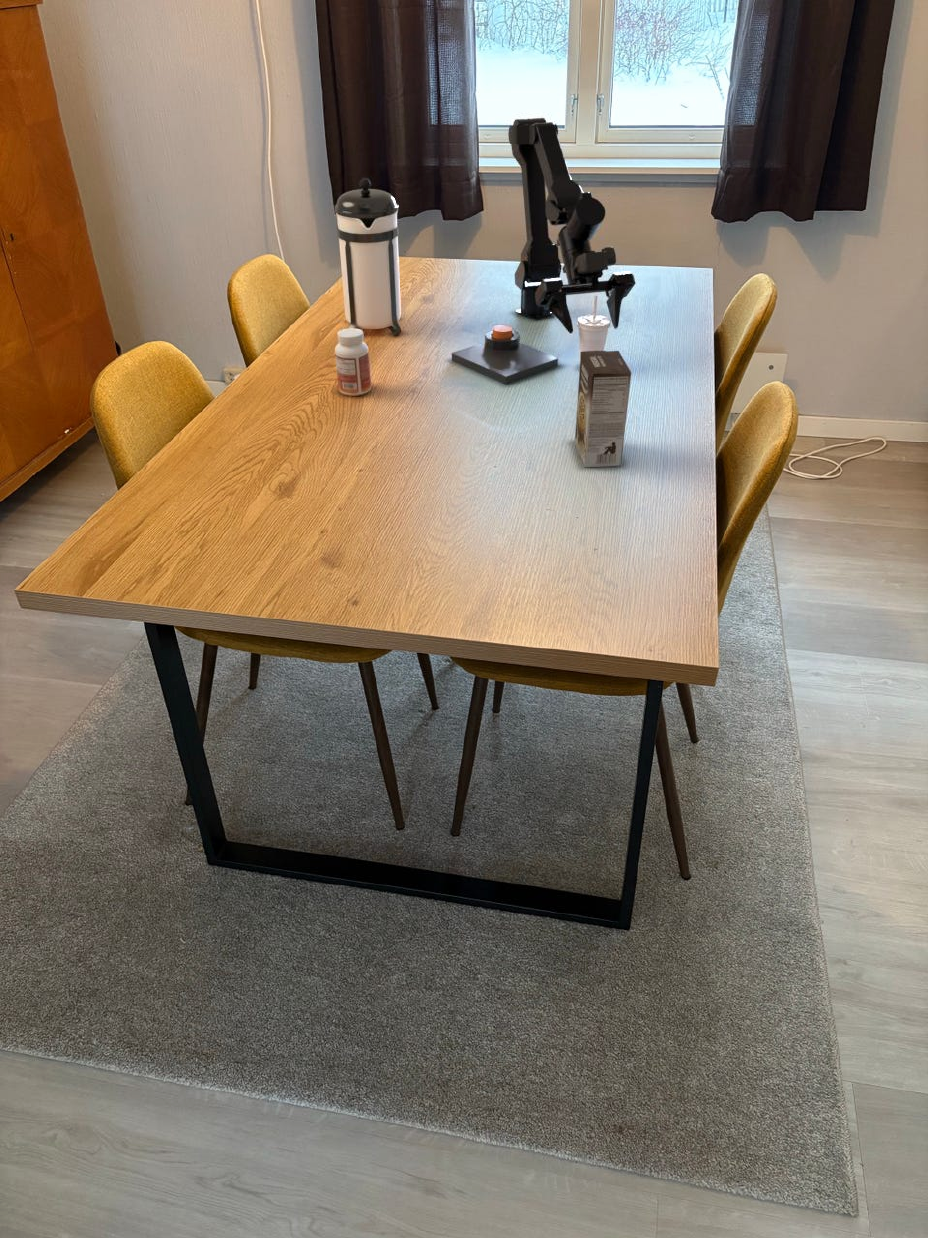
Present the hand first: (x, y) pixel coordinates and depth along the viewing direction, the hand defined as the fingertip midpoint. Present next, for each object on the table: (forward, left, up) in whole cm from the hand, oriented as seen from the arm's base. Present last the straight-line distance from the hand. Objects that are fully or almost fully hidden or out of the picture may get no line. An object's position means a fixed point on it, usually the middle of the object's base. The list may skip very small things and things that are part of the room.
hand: (594, 329), depth 180 cm
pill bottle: (-22, -41, -8) cm, 47 cm away
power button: (-18, -7, -5) cm, 20 cm away
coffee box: (+26, -26, -8) cm, 37 cm away
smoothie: (0, 0, -8) cm, 8 cm away
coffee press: (-48, -18, -8) cm, 52 cm away
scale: (-13, -11, -8) cm, 19 cm away
